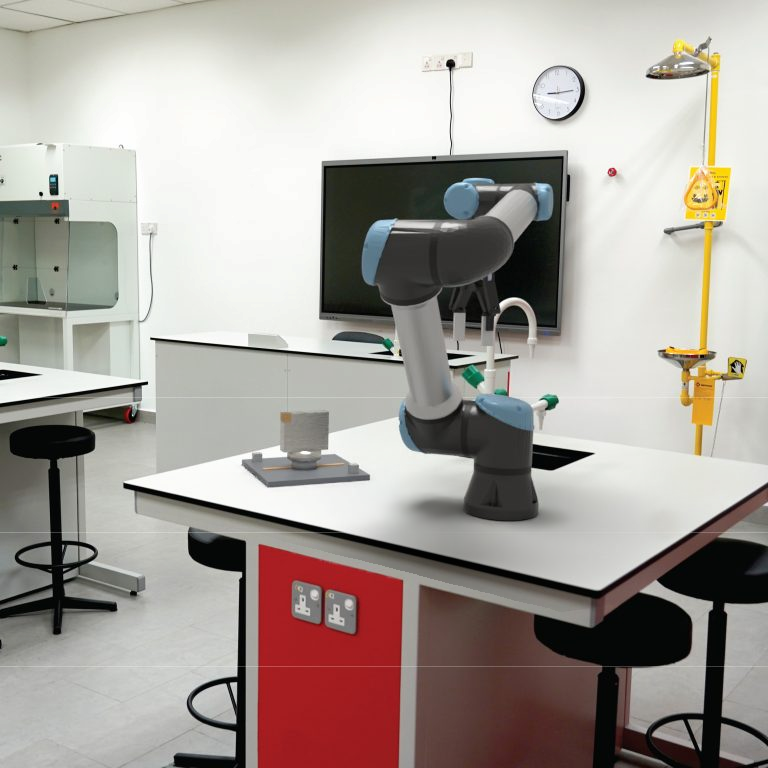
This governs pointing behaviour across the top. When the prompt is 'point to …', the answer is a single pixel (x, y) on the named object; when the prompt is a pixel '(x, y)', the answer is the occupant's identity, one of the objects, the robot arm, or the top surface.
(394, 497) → the top surface
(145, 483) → the top surface
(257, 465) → the post plate
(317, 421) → the grey block knob
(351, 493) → the top surface
